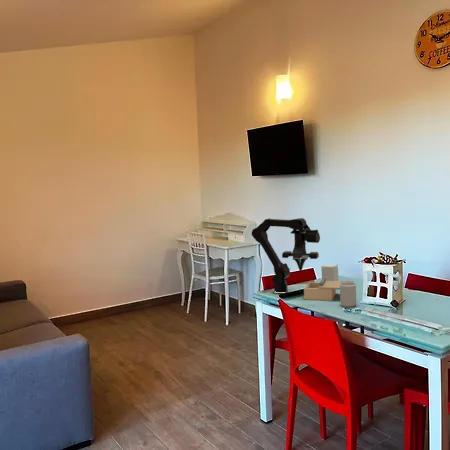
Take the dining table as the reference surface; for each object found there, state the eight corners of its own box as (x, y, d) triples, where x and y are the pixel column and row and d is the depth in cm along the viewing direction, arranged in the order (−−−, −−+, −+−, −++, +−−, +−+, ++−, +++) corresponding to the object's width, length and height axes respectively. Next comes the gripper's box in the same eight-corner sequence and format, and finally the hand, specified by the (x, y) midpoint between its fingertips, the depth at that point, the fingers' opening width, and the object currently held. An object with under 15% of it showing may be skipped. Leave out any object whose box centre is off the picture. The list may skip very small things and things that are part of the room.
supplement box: (339, 286, 269) (338, 264, 268) (334, 289, 263) (333, 266, 262) (326, 285, 273) (325, 263, 272) (321, 288, 267) (321, 266, 266)
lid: (318, 288, 242) (318, 283, 242) (323, 282, 255) (323, 277, 255) (347, 289, 237) (347, 284, 237) (350, 282, 250) (350, 278, 250)
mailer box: (304, 299, 246) (303, 288, 245) (309, 292, 259) (309, 282, 258) (331, 300, 241) (331, 289, 240) (335, 293, 254) (335, 282, 253)
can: (347, 308, 226) (347, 283, 224) (337, 305, 232) (336, 281, 231) (359, 305, 229) (359, 281, 228) (349, 302, 236) (348, 278, 235)
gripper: (278, 244, 250) (279, 273, 252) (314, 244, 243) (315, 274, 245) (284, 240, 260) (285, 268, 262) (318, 241, 253) (319, 270, 255)
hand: (300, 270), depth 256 cm, fingers closed
